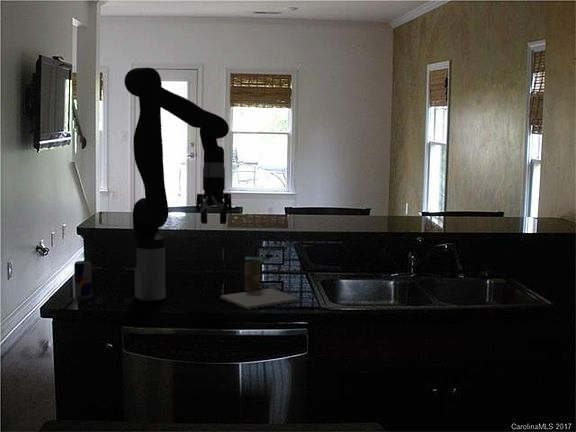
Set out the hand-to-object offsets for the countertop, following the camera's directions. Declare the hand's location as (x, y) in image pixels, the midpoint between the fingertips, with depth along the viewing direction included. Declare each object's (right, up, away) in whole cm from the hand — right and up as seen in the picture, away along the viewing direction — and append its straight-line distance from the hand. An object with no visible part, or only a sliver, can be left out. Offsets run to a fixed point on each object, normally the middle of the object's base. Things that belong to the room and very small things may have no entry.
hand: (213, 223), depth 277 cm
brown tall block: (+13, -23, +6) cm, 27 cm away
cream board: (+16, -25, -10) cm, 31 cm away
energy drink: (-42, -25, -9) cm, 50 cm away
